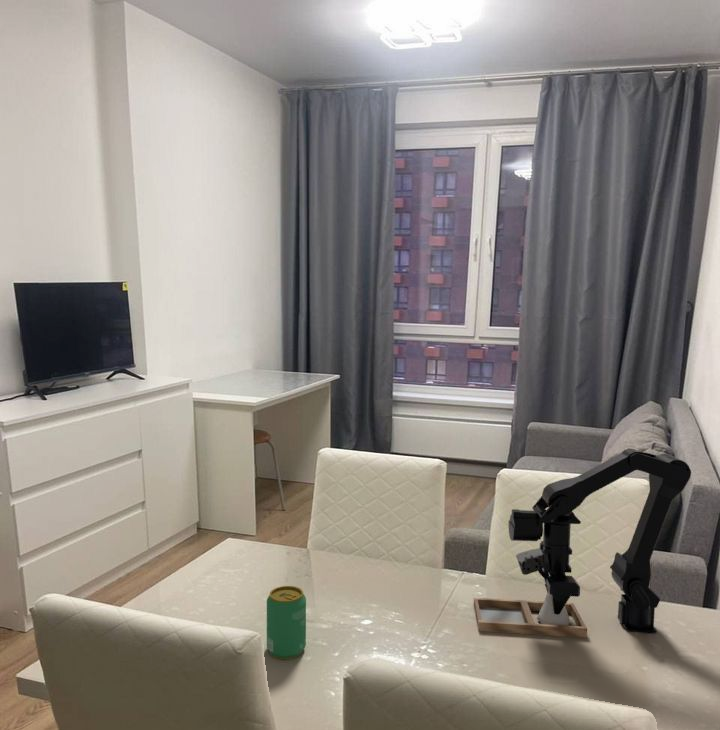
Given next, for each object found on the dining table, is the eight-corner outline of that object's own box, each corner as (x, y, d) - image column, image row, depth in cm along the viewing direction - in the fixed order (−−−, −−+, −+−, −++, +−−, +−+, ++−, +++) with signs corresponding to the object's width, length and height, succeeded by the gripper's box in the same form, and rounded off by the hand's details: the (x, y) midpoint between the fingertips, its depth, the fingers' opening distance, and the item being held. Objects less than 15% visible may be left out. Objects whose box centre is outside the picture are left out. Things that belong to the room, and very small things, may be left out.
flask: (572, 631, 131) (574, 587, 130) (538, 627, 132) (539, 583, 132) (567, 615, 138) (569, 573, 137) (535, 611, 139) (536, 570, 139)
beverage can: (282, 635, 128) (283, 581, 127) (313, 646, 124) (313, 590, 123) (258, 653, 121) (258, 596, 121) (290, 665, 117) (290, 606, 116)
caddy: (573, 611, 140) (573, 603, 140) (586, 637, 129) (587, 628, 129) (473, 605, 143) (473, 597, 143) (478, 630, 131) (478, 622, 131)
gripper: (513, 525, 144) (511, 587, 145) (527, 555, 125) (524, 627, 127) (560, 527, 143) (558, 590, 144) (582, 558, 124) (579, 630, 125)
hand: (554, 608), depth 135 cm, fingers closed on flask, 5 cm apart
